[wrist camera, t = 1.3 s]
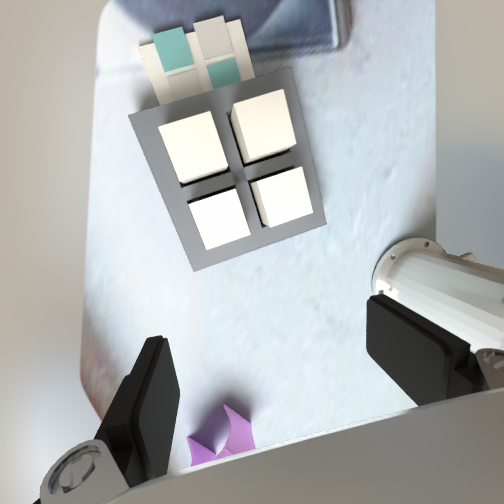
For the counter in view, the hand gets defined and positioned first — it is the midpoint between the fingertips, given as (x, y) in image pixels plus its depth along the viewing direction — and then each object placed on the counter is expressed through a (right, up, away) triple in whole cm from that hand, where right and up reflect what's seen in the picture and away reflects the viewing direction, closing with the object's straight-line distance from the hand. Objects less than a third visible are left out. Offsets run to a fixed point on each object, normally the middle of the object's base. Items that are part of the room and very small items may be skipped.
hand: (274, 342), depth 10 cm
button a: (+2, +11, +17) cm, 20 cm away
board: (-4, +16, +17) cm, 24 cm away
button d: (-7, +15, +14) cm, 22 cm away
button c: (0, +17, +15) cm, 23 cm away
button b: (-5, +8, +16) cm, 19 cm away
